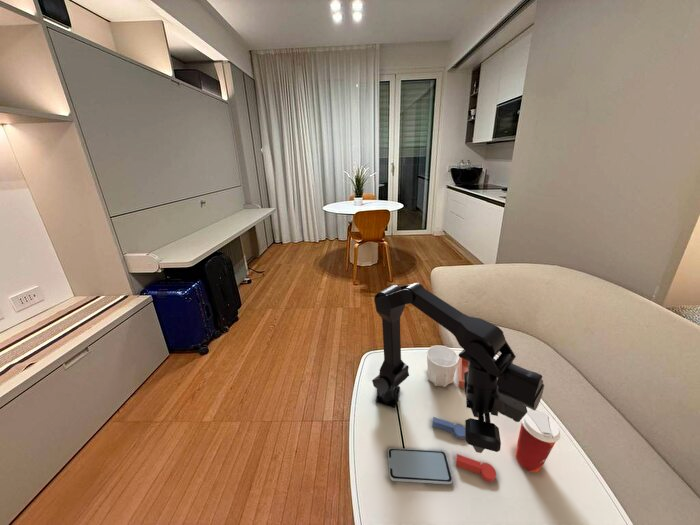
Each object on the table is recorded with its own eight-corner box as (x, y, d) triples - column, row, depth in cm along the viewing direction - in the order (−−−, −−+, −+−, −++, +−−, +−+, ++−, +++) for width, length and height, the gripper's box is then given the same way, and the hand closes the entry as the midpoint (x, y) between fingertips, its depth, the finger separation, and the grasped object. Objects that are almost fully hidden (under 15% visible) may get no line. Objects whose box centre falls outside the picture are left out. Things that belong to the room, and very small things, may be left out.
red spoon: (455, 469, 66) (456, 464, 65) (455, 455, 69) (456, 450, 68) (496, 484, 63) (497, 479, 62) (494, 468, 66) (496, 463, 65)
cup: (425, 386, 89) (427, 364, 85) (424, 365, 98) (426, 343, 94) (456, 391, 87) (460, 368, 83) (452, 369, 96) (456, 347, 92)
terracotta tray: (458, 386, 89) (459, 380, 88) (458, 360, 100) (459, 355, 99) (500, 397, 84) (502, 391, 83) (496, 369, 95) (497, 363, 94)
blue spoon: (431, 430, 75) (432, 424, 75) (433, 418, 78) (433, 413, 78) (466, 441, 72) (467, 435, 71) (466, 429, 75) (467, 423, 74)
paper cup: (552, 480, 63) (569, 441, 58) (516, 473, 65) (530, 435, 59) (537, 447, 70) (551, 409, 65) (506, 442, 72) (517, 404, 66)
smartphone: (453, 483, 63) (389, 479, 63) (453, 485, 63) (389, 481, 64) (445, 450, 69) (387, 447, 70) (444, 453, 70) (387, 449, 71)
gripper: (537, 427, 46) (526, 488, 51) (517, 358, 62) (510, 409, 67) (467, 412, 50) (463, 469, 55) (465, 350, 66) (462, 399, 71)
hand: (477, 433), depth 62 cm, fingers open, 9 cm apart
